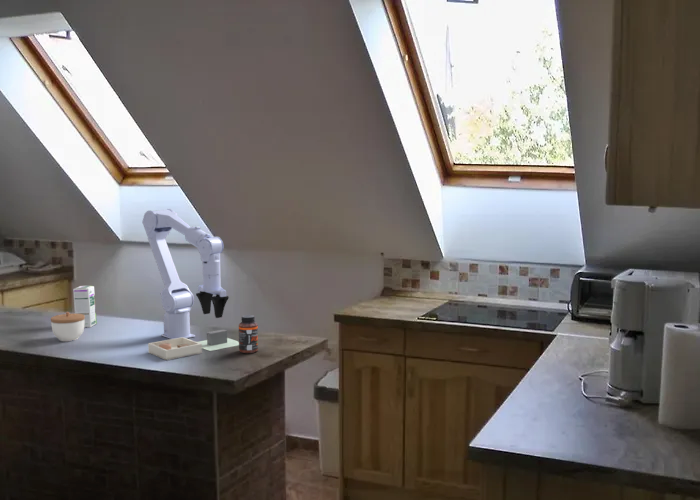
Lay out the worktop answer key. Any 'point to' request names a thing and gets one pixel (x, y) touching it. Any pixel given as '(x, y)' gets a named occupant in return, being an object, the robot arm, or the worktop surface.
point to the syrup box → (85, 304)
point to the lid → (218, 341)
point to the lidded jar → (68, 326)
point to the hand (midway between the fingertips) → (212, 315)
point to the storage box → (174, 348)
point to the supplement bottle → (248, 335)
